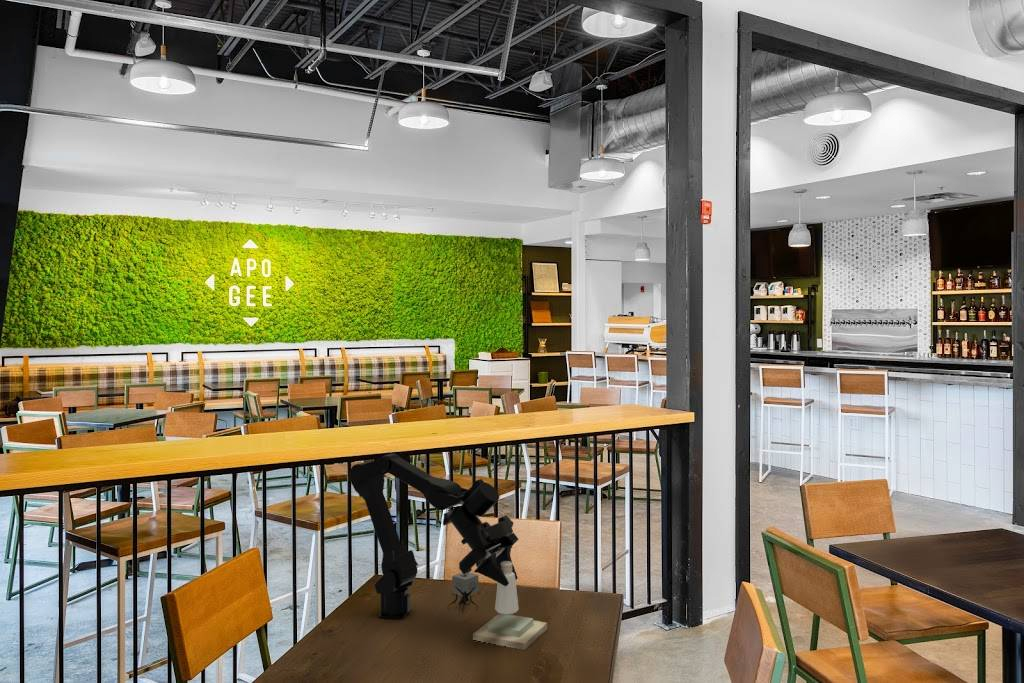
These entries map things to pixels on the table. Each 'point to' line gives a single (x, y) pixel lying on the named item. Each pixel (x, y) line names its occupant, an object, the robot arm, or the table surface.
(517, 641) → the plinth
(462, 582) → the dice cube
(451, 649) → the table surface
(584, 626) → the table surface
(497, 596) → the salt shaker
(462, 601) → the creature
